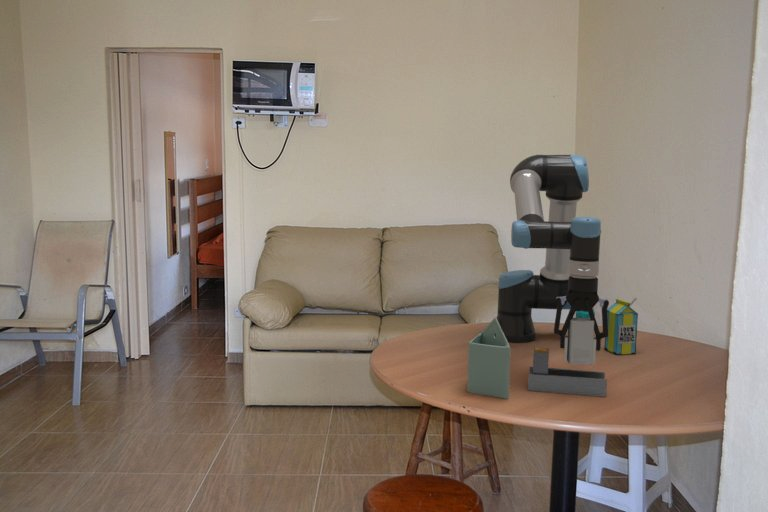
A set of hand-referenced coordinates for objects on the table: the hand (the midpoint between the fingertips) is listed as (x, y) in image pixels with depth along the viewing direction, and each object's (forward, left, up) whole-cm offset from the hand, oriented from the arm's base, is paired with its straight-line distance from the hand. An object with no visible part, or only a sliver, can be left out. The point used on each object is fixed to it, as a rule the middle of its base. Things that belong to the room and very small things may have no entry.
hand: (579, 361), depth 191 cm
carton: (-45, +15, -8) cm, 48 cm away
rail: (0, -3, -8) cm, 9 cm away
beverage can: (-40, +3, -8) cm, 41 cm away
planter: (+7, -25, -8) cm, 28 cm away
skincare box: (0, 0, -1) cm, 1 cm away
